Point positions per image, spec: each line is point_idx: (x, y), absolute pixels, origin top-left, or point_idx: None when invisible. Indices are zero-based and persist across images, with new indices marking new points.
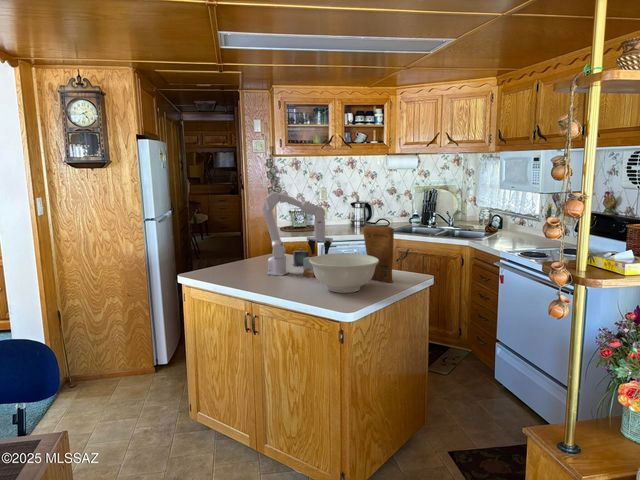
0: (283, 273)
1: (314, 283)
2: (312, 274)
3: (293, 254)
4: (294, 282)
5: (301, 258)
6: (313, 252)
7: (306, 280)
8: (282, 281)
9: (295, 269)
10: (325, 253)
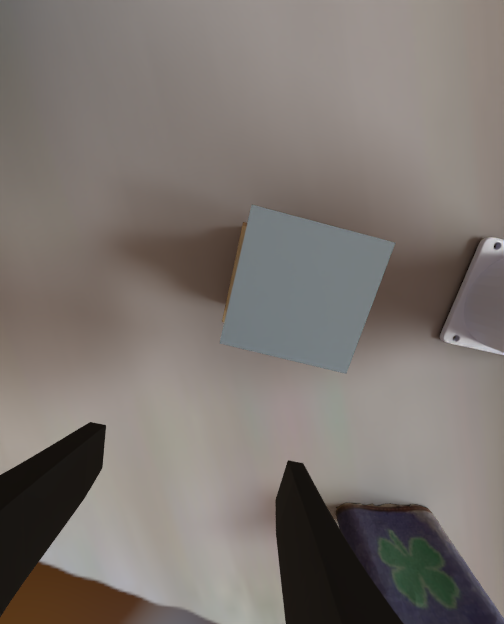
0: (482, 274)
1: (184, 18)
2: (246, 223)
3: (500, 614)
4: (355, 19)
5: (409, 570)
6: (288, 496)
7: (271, 120)
8: (461, 36)
9: (406, 435)
10: (72, 439)
